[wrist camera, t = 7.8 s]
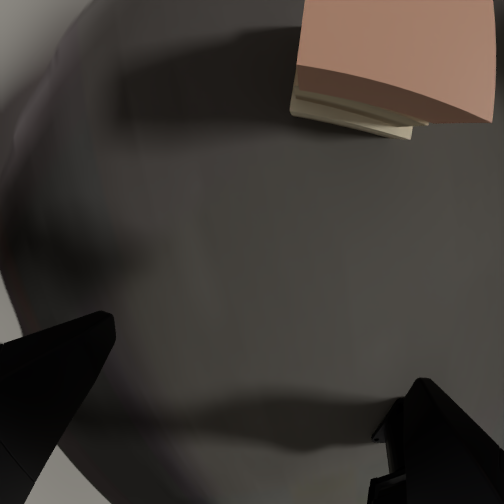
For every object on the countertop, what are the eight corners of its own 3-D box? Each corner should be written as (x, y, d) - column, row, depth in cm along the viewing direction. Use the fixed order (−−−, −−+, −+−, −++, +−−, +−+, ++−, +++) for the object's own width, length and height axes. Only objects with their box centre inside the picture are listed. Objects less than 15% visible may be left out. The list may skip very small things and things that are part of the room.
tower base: (389, 138, 17) (410, 139, 13) (292, 116, 17) (289, 110, 13) (401, 50, 14) (423, 32, 11) (306, 26, 15) (306, 2, 11)
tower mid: (397, 127, 13) (428, 125, 9) (296, 98, 13) (293, 85, 9) (412, 38, 11) (443, 12, 7) (314, 9, 11) (316, -28, 8)
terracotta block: (433, 123, 9) (491, 123, 5) (299, 90, 10) (296, 64, 6) (441, 9, 7) (488, -29, 3) (314, -26, 8) (315, -85, 4)
